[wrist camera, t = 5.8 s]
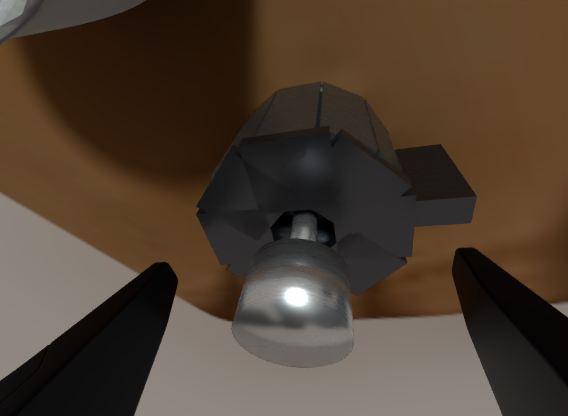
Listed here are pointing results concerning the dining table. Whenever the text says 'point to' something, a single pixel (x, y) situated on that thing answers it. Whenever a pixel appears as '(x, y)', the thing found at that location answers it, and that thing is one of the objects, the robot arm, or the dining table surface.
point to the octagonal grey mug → (328, 184)
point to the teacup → (54, 14)
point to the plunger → (296, 300)
